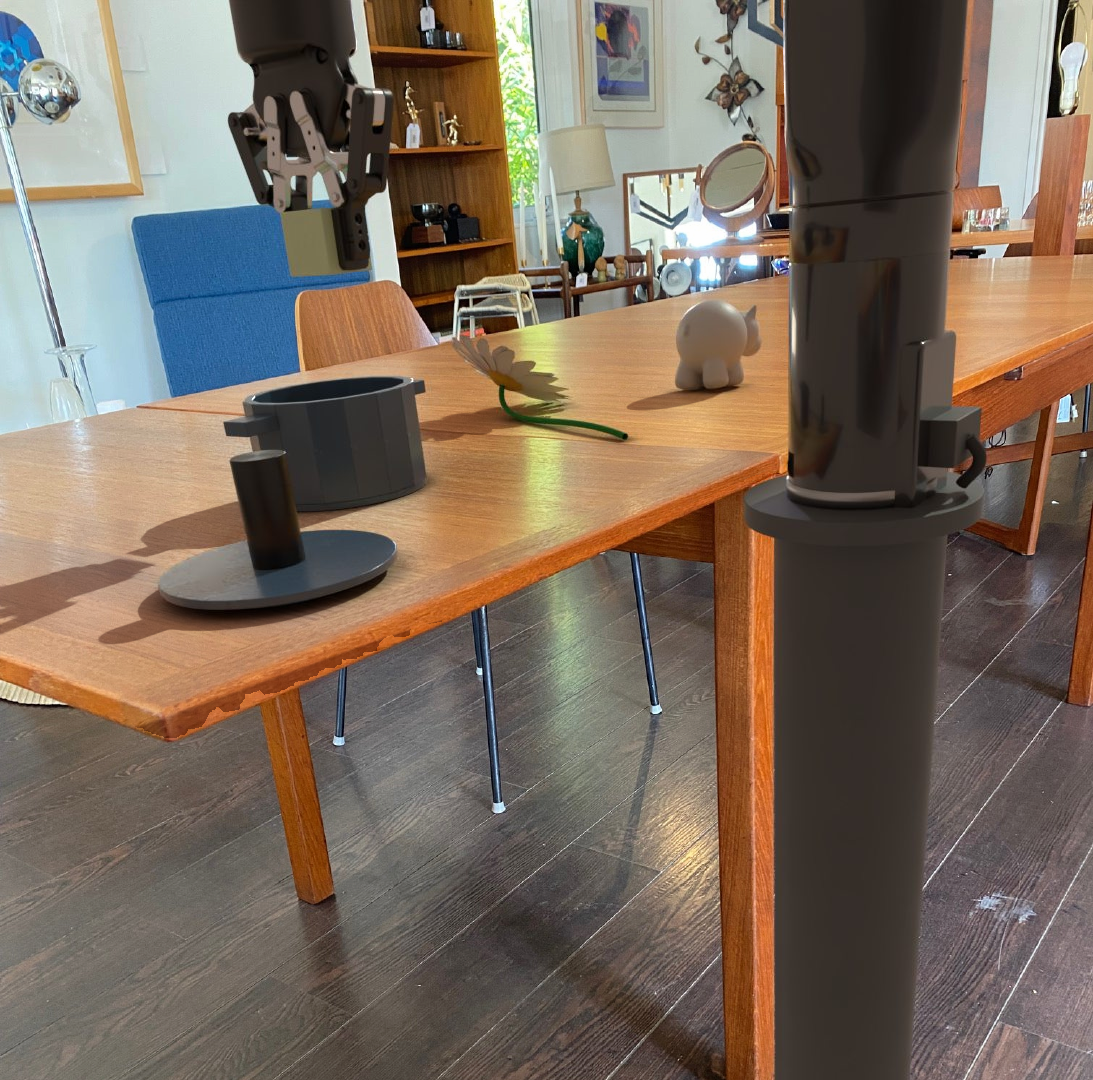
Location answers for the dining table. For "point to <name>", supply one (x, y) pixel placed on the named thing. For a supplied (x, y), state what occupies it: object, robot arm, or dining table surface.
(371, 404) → the pot
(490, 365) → the flower
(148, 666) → the dining table surface
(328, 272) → the block
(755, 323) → the chubby cartoon animal
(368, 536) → the lid
